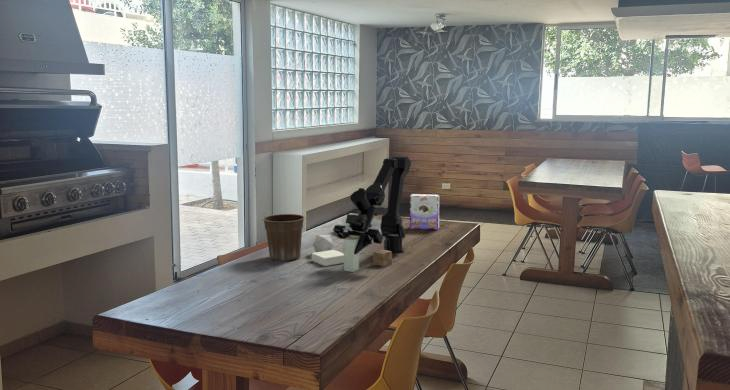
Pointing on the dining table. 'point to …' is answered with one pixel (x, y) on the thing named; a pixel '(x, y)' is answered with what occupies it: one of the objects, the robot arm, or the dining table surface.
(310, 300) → the dining table surface
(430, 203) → the candy box
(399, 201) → the robot arm
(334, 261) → the slab
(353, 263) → the tea tin
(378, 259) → the walnut cube
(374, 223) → the dish
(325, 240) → the die
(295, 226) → the plant pot
